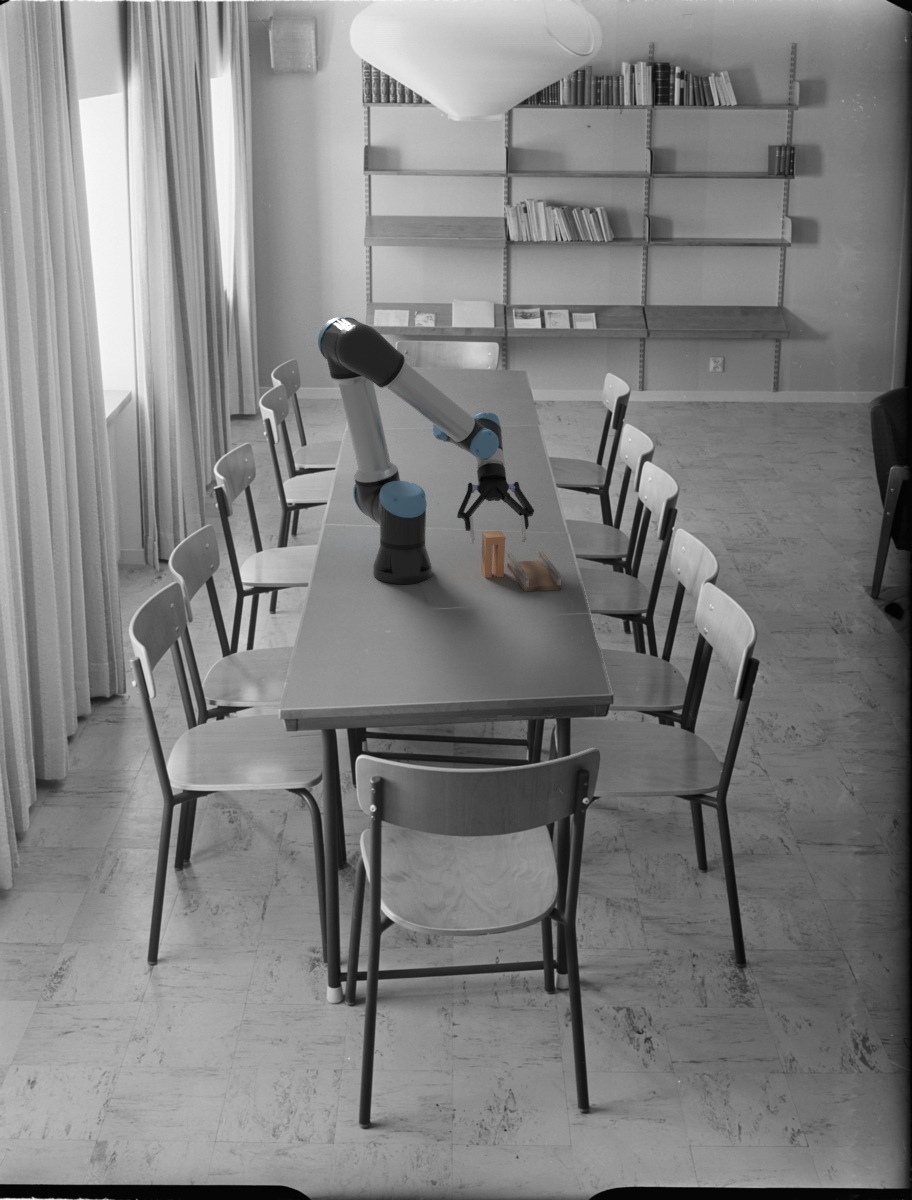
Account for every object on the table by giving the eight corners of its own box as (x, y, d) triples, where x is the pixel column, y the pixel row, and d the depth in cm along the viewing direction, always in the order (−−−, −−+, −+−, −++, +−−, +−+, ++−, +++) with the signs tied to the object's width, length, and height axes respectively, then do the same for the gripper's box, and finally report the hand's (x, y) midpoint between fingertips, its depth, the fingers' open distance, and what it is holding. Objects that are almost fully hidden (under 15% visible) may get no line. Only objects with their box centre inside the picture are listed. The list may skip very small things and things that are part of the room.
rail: (524, 591, 299) (525, 578, 298) (507, 566, 316) (507, 553, 314) (560, 589, 301) (561, 576, 300) (541, 564, 318) (542, 551, 316)
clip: (484, 577, 308) (486, 537, 303) (481, 571, 312) (482, 532, 307) (503, 576, 309) (505, 536, 304) (499, 570, 313) (501, 531, 308)
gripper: (534, 473, 323) (542, 545, 316) (443, 475, 320) (449, 547, 312) (539, 460, 316) (548, 533, 309) (446, 462, 313) (452, 536, 305)
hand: (498, 540), depth 311 cm, fingers open, 13 cm apart
